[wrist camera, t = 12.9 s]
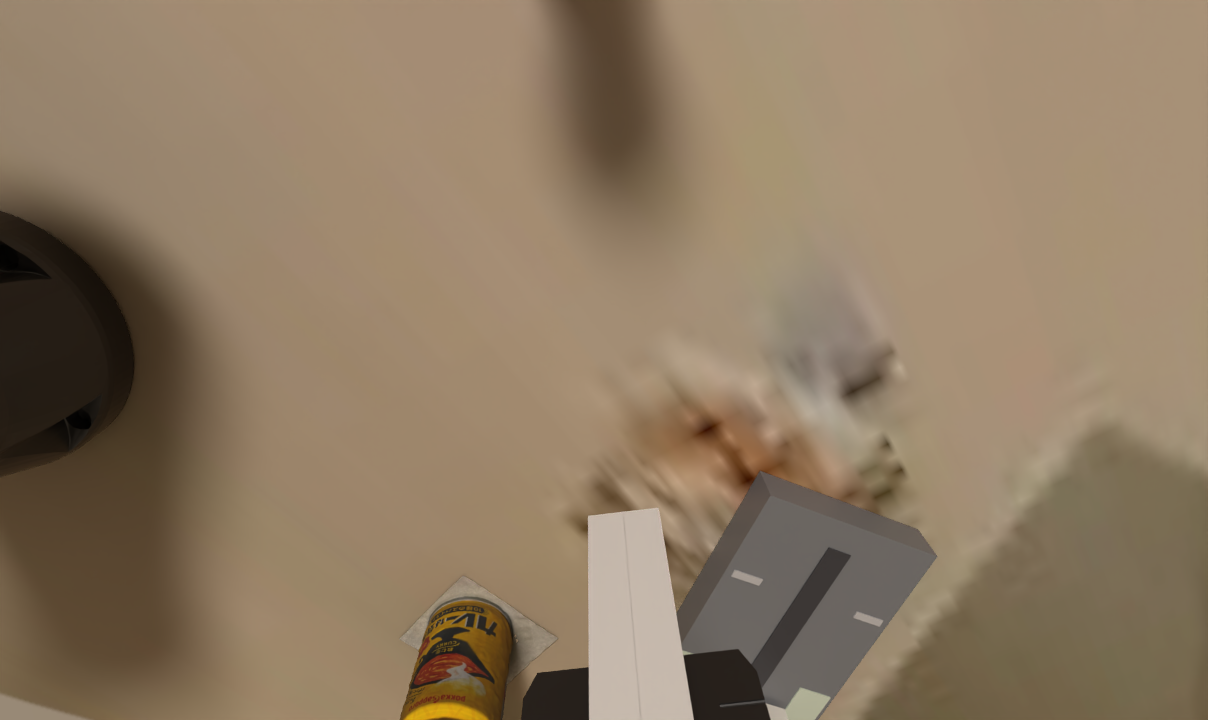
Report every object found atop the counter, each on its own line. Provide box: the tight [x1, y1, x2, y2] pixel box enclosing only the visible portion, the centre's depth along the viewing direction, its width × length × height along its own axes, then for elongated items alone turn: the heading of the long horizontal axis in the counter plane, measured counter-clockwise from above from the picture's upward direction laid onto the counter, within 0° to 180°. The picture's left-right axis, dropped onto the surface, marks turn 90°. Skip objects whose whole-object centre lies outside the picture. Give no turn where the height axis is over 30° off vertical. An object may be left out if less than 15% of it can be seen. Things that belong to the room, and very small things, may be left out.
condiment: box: [400, 576, 558, 720], centre depth 44 cm, size 7×8×12 cm
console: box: [676, 471, 937, 720], centre depth 50 cm, size 30×12×3 cm, turn 157°
